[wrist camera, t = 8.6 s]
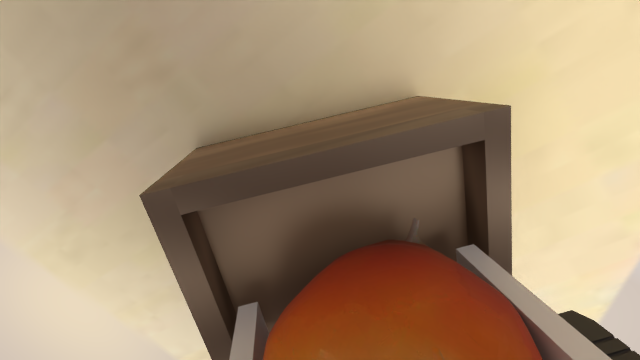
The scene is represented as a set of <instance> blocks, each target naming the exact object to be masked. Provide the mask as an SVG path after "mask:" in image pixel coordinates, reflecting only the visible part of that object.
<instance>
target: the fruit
mask: <svg viewBox="0 0 640 360" xmlns="http://www.w3.org/2000/svg"><path fill="white" fill-rule="evenodd" d="M418 228H419V220H416V218H414V219H413V220H412V225H411V228H410V232H409V234H408V237H407V239H405V240H394V239H391V240H384V241H381V242H377V243H374V244H370V245H367V246H364V247H361V248H358V249H355V250H352V251H349V252H347V253H345V254H344V255H342V256H340V257H338V258H337V259H335V260H334V261H333V262H332V263H330V264H329V265H328V266H327V267H325V268H324V269H323V270H322V271H321V272H319V273H318V274H317V275H316V276H315V277H314V278H313V279H312V280H311V281H310V282H309V283H308V284H307V285H306V286H305V287H304V288H303V289H302V291H301V292H300V293H299V294H298V295H297V296H296V297H295V298H294V299H293V300H292V301H291V302H290V303H289V304H288V305H287V307H286V308H285V309H284V311H283V312H282V313H281V315H280V317H279V318H278V320H277V321H276V323H275V325H274V326H273V328H272V330H271V331H270V334H269V336H268V339H267V342H266V346H265V351H264V356H263V360H543V359H542V357H541V355H540V353H539V351H538V349H537V347H536V345H535V343H534V341H533V339H532V336H531V334H530V332H529V330H528V329H527V327H526V325H525V323H524V322H523V320H522V318H521V316H520V315H519V313H518V312H517V311H516V309H515V308H514V306H513V305H512V304H511V302H510V301H509V300H508V299H507V298H506V297H505V296H504V295H503V294H502V293H500V292H499V291H498V290H496V289H495V288H494V287H492V286H491V285H489V284H488V283H487V282H485V281H484V280H482V279H481V278H480V277H478V276H477V275H475V274H474V273H473V272H471V271H469V270H468V269H466V268H465V267H463V266H462V265H460V264H459V263H457V262H456V261H454V260H452V259H450V258H448V257H446V256H445V255H444V254H442V253H441V252H438V251H436V250H434V249H432V248H430V247H428V246H427V245H425V244H424V243H423V242H421V240H420V239H419V237H418V235H417V234H418Z"/></svg>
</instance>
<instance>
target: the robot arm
mask: <svg viewBox="0 0 640 360" xmlns="http://www.w3.org/2000/svg"><path fill="white" fill-rule="evenodd" d="M456 257H457V263H459V264H460V265H462V266H463V267H465V268H466V269H468V270H469V271H471V272H473V273H474V274H475V275H477V276H478V277H480V278H481V279H482V280H484V281H485V282H487V283H488V284H489V285H491V286H492V287H494V288H495V289H496V290H498V291H499V292H500V293H502V294H503V295H504V296H505V297H506V298H507V299H508V300H509V301H510V302H511V304H512V305H513V306H514V308H515V309H516V311H517V312H518V313H519V315H520V316H521V318H522V320H523V322H524V323H525V325H526V327H527V329H528V330H529V332H530V334H531V336H532V339H533V341H534V343H535V345H536V347H537V349H538V351H539V353H540V355H541V357H542V359H543V360H640V355H639V354H637V353H636V352H635V351H631V350H630V348H629V347H628V346H627V345H625V344H624V343H623V342H621V341H620V340H619V339H618V338H617V339H616V338H614V336H613V335H612V334H611V333H610V332H608V331H607V330H606V329H604V328H603V327H602V326H600V325H599V324H598V323H597V322H595V321H594V320H592V319H589V318H587V317H585V316H583V315H581V314H579V313H577V312H575V311H573V310H571V311H567V312H564V313H560V314H557V313H556V312H555V311H553V310H552V309H551V308H550V307H549V306H547V305H546V304H545V303H544V302H543V301H541V300H540V299H539V298H538V297H537V296H535V295H534V294H533V293H532V292H531V291H529V290H528V289H527V288H526V287H525V286H523V285H522V284H521V283H520V282H519V281H517V280H516V279H515V278H514V277H513V276H511V275H510V274H509V273H508V272H507V271H505V270H504V269H503V268H502V267H501V266H499V265H498V264H497V263H496V262H495V261H493V260H492V259H491V258H490V257H489V256H487V255H486V254H485V253H484V252H483V251H481V250H480V249H479V248H478V247H477V246H475V245H474V244H472V245H468V246H465V247H461V248H457V249H456ZM268 336H269V332H268V329H267V327H266V324H265V321H264V318H263V315H262V312H261V309H260V306H259V303H258V302H254V303H251V304H247V305H243V306H239V307H238V312H237V318H236V324H235V330H234V335H233V341H232V347H231V353H230V358H229V360H263V356H264V351H265V346H266V342H267V339H268Z"/></svg>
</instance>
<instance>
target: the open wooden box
mask: <svg viewBox="0 0 640 360" xmlns="http://www.w3.org/2000/svg"><path fill="white" fill-rule="evenodd" d="M139 196H140V198H141V200H142V202H143V205H144V207H145V209H146V211H147V214H148V216H149V218H150V220H151V223H152V225H153V227H154V229H155V232H156V234H157V236H158V239H159V241H160V243H161V245H162V248H163V250H164V252H165V254H166V257H167V259H168V261H169V263H170V266H171V268H172V270H173V273H174V275H175V277H176V279H177V282H178V284H179V286H180V288H181V291H182V293H183V295H184V297H185V300H186V302H187V304H188V307H189V309H190V311H191V313H192V316H193V318H194V320H195V322H196V325H197V327H198V329H199V331H200V334H201V336H202V338H203V340H204V343H205V345H206V347H207V350H208V352H209V354H210V356H211V359H212V360H229V358H230V353H231V347H232V341H233V335H234V330H235V324H236V318H237V312H238V307H239V306H243V305H247V304H251V303H254V302H258V303H259V306H260V309H261V312H262V315H263V318H264V321H265V324H266V327H267V329H268V332H269V334H270V331H271V330H272V328H273V326H274V325H275V323H276V321H277V320H278V318H279V317H280V315H281V313H282V312H283V311H284V309H285V308H286V307H287V305H288V304H289V303H290V302H291V301H292V300H293V299H294V298H295V297H296V296H297V295H298V294H299V293H300V292H301V291H302V289H303V288H304V287H305V286H306V285H307V284H308V283H309V282H310V281H311V280H312V279H313V278H314V277H315V276H316V275H317V274H318V273H319V272H321V271H322V270H323V269H324V268H325V267H327V266H328V265H329V264H330V263H332V262H333V261H334V260H335V259H337V258H338V257H340V256H342V255H344V254H345V253H347V252H349V251H352V250H355V249H358V248H361V247H364V246H367V245H370V244H374V243H377V242H381V241H384V240H391V239H394V240H405V239H407V237H408V234H409V232H410V228H411V225H412V220H413V219H414V218H416V220H419V228H418V234H417V235H418V237H419V239H420V240H421V242H423V243H424V244H425V245H427V246H428V247H430V248H432V249H434V250H436V251H438V252H441V253H442V254H444V255H445V256H446V257H448V258H450V259H452V260H454V261H456V262H457V257H456V249H457V248H461V247H465V246H468V245H472V244H474V245H475V246H477V247H478V248H479V249H480V250H481V251H483V252H484V253H485V254H486V255H487V256H489V257H490V258H491V259H492V260H493V261H495V262H496V263H497V264H498V265H499V266H501V267H502V268H503V269H504V270H505V271H507V272H508V273H509V274H510V275H511V276H512V226H511V106H509V105H499V104H489V103H480V102H470V101H460V100H451V99H441V98H431V97H421V96H417V97H413V98H408V99H404V100H400V101H396V102H391V103H387V104H383V105H379V106H374V107H370V108H366V109H362V110H357V111H353V112H349V113H345V114H340V115H336V116H332V117H328V118H323V119H319V120H315V121H311V122H306V123H302V124H298V125H294V126H289V127H285V128H281V129H277V130H272V131H268V132H264V133H260V134H255V135H251V136H247V137H243V138H238V139H234V140H230V141H226V142H221V143H217V144H213V145H209V146H204V147H200V148H196V149H195V150H194V151H193V152H192V153H190V154H189V155H188V156H187V157H186V158H184V159H183V160H182V161H181V162H179V163H178V164H177V165H176V166H175V167H173V168H172V169H171V170H170V171H168V172H167V173H166V174H165V175H164V176H162V177H161V178H160V179H159V180H158V181H156V182H155V183H154V184H153V185H151V186H150V187H149V188H148V189H147V190H145V191H144V192H143V193H142V194H140V195H139Z"/></svg>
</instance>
